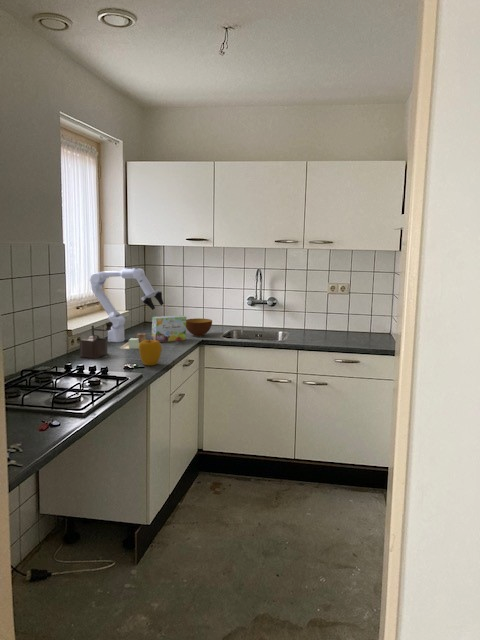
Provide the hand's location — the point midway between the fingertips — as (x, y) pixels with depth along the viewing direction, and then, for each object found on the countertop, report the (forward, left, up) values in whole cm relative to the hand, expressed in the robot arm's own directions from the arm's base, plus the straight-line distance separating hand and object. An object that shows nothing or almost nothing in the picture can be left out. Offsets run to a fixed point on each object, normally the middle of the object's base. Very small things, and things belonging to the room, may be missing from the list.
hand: (158, 306), depth 317 cm
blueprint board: (-10, -8, -22) cm, 25 cm away
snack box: (+5, +6, -22) cm, 23 cm away
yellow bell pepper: (+8, -53, -22) cm, 58 cm away
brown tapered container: (-25, -35, -22) cm, 48 cm away
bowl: (+20, +27, -22) cm, 40 cm away
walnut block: (-10, -1, -21) cm, 24 cm away
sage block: (-10, -17, -21) cm, 29 cm away
